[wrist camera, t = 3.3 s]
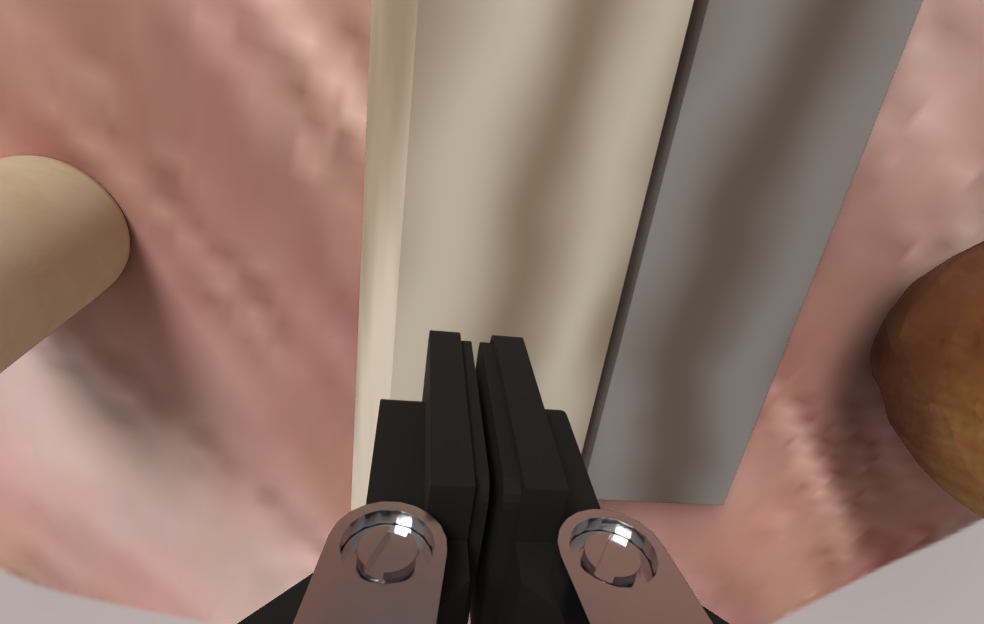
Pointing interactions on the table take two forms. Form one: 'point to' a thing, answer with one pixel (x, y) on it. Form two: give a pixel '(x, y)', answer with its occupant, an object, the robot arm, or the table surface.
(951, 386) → the butternut squash
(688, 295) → the floor board
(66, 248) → the candle
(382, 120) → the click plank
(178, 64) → the table surface
